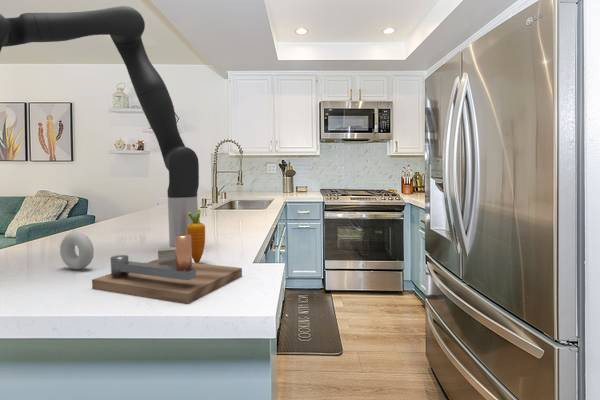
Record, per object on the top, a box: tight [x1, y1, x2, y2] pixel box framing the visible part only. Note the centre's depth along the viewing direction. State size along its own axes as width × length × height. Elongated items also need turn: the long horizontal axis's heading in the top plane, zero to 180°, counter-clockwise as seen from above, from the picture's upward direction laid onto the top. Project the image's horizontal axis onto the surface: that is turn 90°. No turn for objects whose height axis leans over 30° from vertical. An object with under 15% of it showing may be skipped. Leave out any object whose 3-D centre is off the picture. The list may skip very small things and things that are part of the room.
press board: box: [91, 246, 243, 304], centre depth 85 cm, size 20×26×7 cm
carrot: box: [187, 208, 206, 263], centre depth 102 cm, size 5×5×15 cm
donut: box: [59, 231, 95, 271], centre depth 97 cm, size 10×3×10 cm, turn 71°
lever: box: [110, 234, 196, 280], centre depth 79 cm, size 4×22×10 cm, turn 68°
